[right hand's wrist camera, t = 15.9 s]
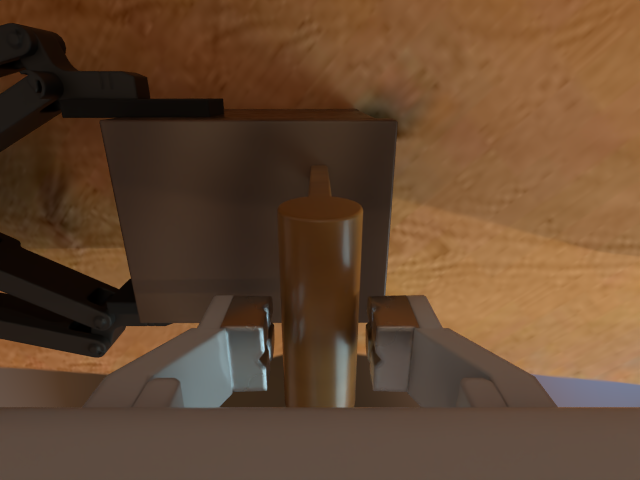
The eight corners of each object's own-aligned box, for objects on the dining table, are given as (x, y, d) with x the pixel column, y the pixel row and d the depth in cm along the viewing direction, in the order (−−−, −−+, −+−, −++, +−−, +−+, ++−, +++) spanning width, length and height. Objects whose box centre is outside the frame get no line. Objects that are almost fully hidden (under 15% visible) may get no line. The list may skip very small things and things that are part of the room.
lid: (393, 118, 16) (471, 145, 8) (380, 311, 19) (424, 469, 11) (111, 118, 16) (-103, 145, 8) (148, 312, 19) (26, 470, 11)
